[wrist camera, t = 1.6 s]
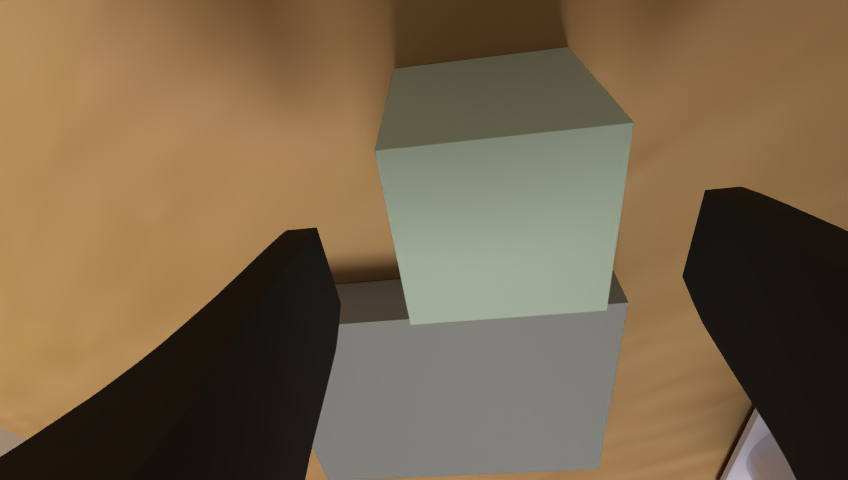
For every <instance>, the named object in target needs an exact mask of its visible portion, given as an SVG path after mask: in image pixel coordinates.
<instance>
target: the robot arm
mask: <svg viewBox="0 0 848 480" xmlns="http://www.w3.org/2000/svg"><path fill="white" fill-rule="evenodd" d="M683 279H684V281H685V284H686V286H687V289H688V291H689V293H690V296H691V298H692V301H693V303H694V305H695V307H696V309H697V312H698V314H699V316H700V318H701V320H702V323H703V324H704V326H705V328H706V329H707V331H708V333H709V334H710V336H711V338H712V339H713V341H714V342H715V344H716V346H717V347H718V349H719V351H720V352H721V354H722V355H723V357H724V359H725V360H726V362H727V364H728V365H729V367H730V368H731V370H732V371H733V373H734V375H735V376H736V378H737V379H738V381H739V383H740V384H741V386H742V387H743V389H744V391H745V392H746V394H747V395H748V397H749V398H750V400H751V402H752V403H753V405H754V406H755V409H754V411H753V413H752V415H751V417H750V419H749V421H748V423H747V425H746V428H745V430H744V432H743V434H742V436H741V438H740V440H739V442H738V444H737V446H736V448H735V450H734V452H733V454H732V456H731V458H730V460H729V462H728V464H727V466H726V468H725V470H724V472H723V474H722V477H721V479H720V480H848V231H846V230H844V229H842V228H839V227H837V226H835V225H833V224H830V223H828V222H826V221H824V220H821V219H819V218H817V217H814V216H812V215H810V214H808V213H805V212H803V211H801V210H799V209H796V208H794V207H792V206H789V205H787V204H785V203H782V202H780V201H778V200H775V199H773V198H770V197H768V196H765V195H763V194H760V193H758V192H755V191H752V190H749V189H746V188H743V187H733V188H723V189H713V190H705V193H704V197H703V201H702V204H701V208H700V212H699V216H698V219H697V223H696V227H695V231H694V235H693V238H692V242H691V246H690V250H689V253H688V257H687V261H686V265H685V269H684V272H683ZM340 310H341V302H340V299H339V296H338V293H337V290H336V286H335V283H334V280H333V277H332V274H331V271H330V268H329V265H328V262H327V258H326V255H325V252H324V249H323V246H322V243H321V240H320V237H319V234H318V230H317V228H308V229H297V230H287V231H285V232H284V233H283V234H282V235H280V236H279V237H278V238H277V239H276V240H275V241H274V242H273V243H271V244H270V245H269V246H268V247H267V248H266V249H265V250H264V251H263V252H262V253H261V254H260V255H259V256H258V257H257V258H256V259H255V260H254V261H253V262H252V263H250V264H249V265H248V266H247V267H246V268H245V269H244V270H243V271H242V272H241V273H240V274H239V275H238V276H237V277H236V278H235V279H234V280H233V281H232V282H230V283H229V284H228V285H227V286H226V287H225V288H224V289H223V290H222V291H221V292H220V293H219V294H218V295H217V296H216V297H215V298H213V299H212V300H211V301H210V302H209V303H208V304H207V305H206V306H204V307H203V308H202V309H201V310H200V311H199V312H198V313H196V314H195V315H194V316H193V317H192V318H191V319H190V320H188V321H187V322H186V323H185V324H184V325H183V326H181V327H180V328H179V329H178V330H177V331H176V332H175V333H173V334H172V335H171V336H170V337H169V338H168V339H167V340H165V341H164V342H163V343H162V344H161V345H159V346H158V347H157V348H156V349H154V350H153V351H152V352H151V353H149V354H148V355H147V356H146V357H144V358H143V359H142V360H140V361H139V362H138V363H137V364H135V365H134V366H133V367H131V368H130V369H129V370H127V371H126V372H125V373H123V374H122V375H121V376H119V377H118V378H117V379H115V380H114V381H113V382H111V383H110V384H109V385H107V386H106V387H105V388H103V389H102V390H100V391H99V392H98V393H96V394H95V395H93V396H92V397H91V398H89V399H88V400H86V401H85V402H83V403H82V404H80V405H79V406H77V407H76V408H74V409H73V410H71V411H70V412H68V413H67V414H65V415H64V416H62V417H61V418H59V419H58V420H56V421H55V422H53V423H52V424H50V425H49V426H47V427H46V428H44V429H43V430H41V431H40V432H38V433H37V434H35V435H34V436H32V437H31V438H29V439H28V440H26V441H25V442H23V443H22V444H20V445H19V446H17V447H16V448H14V449H12V450H11V451H9V452H8V453H6V454H4V455H3V456H1V457H0V480H305V477H306V472H307V467H308V463H309V458H310V453H311V449H312V445H313V441H314V437H315V433H316V429H317V425H318V421H319V417H320V413H321V409H322V405H323V401H324V397H325V393H326V390H327V386H328V381H329V377H330V373H331V369H332V365H333V361H334V356H335V352H336V347H337V338H338V330H339V321H340Z"/></svg>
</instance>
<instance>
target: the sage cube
mask: <svg viewBox="0 0 848 480" xmlns="http://www.w3.org/2000/svg"><path fill="white" fill-rule="evenodd" d="M633 126H634V122H633V121H632V120H631V119H630V117H629V116H628V115H627V114H626V113H625V112H624V111H623V109H622V108H621V107H620V106H619V105H618V104H617V103H616V101H615V100H614V99H613V98H612V97H611V96H610V95H609V93H608V92H607V91H606V90H605V89H604V88H603V86H602V85H601V84H600V83H599V82H598V81H597V80H596V78H595V77H594V76H593V75H592V74H591V73H590V72H589V70H588V69H587V68H586V67H585V66H584V65H583V64H582V62H581V61H580V60H579V59H578V58H577V57H576V56H575V54H574V53H573V52H572V51H571V50H570V49H569V47H564V48H556V49H548V50H540V51H532V52H524V53H516V54H508V55H500V56H492V57H484V58H476V59H468V60H460V61H452V62H444V63H436V64H428V65H420V66H412V67H404V68H396V69H394V73H393V77H392V81H391V85H390V89H389V93H388V98H387V102H386V106H385V110H384V114H383V118H382V122H381V127H380V131H379V135H378V139H377V143H376V147H375V155H376V160H377V165H378V169H379V174H380V179H381V184H382V189H383V194H384V199H385V203H386V208H387V213H388V218H389V223H390V228H391V232H392V237H393V242H394V247H395V252H396V257H397V262H398V266H399V271H400V276H401V281H402V286H403V291H404V295H405V300H406V305H407V310H408V315H409V320H410V324H411V325H416V324H429V323H443V322H457V321H470V320H484V319H498V318H511V317H525V316H539V315H552V314H566V313H579V312H593V311H607V305H608V298H609V291H610V285H611V278H612V271H613V264H614V257H615V250H616V243H617V236H618V229H619V222H620V216H621V209H622V202H623V195H624V188H625V181H626V174H627V167H628V160H629V154H630V147H631V140H632V133H633Z"/></svg>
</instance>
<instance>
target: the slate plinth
mask: <svg viewBox="0 0 848 480" xmlns="http://www.w3.org/2000/svg"><path fill="white" fill-rule="evenodd" d="M335 286H336V290H337V293H338V296H339V299H340V302H341V310H340V321H339V330H338V338H337V347H336V352H335V356H334V361H333V365H332V369H331V373H330V377H329V381H328V386H327V390H326V393H325V397H324V401H323V405H322V409H321V413H320V417H319V421H318V425H317V429H316V433H315V437H314V441H313V445H312V448H313V450H314V452H315V454H316V456H317V458H318V460H319V462H320V464H321V466H322V468H323V470H324V472H325V474H326V476H327V478H328V480H365V479H388V478H411V477H434V476H457V475H480V474H503V473H526V472H550V471H573V470H596V469H599V463H600V458H601V452H602V447H603V441H604V435H605V430H606V424H607V419H608V413H609V408H610V402H611V397H612V391H613V386H614V380H615V374H616V369H617V363H618V358H619V352H620V347H621V341H622V336H623V330H624V325H625V319H626V313H627V308H628V301H627V299H626V297H625V294H624V292H623V290H622V288H621V286H620V284H619V282H618V280H617V278H616V275H615V273H614V271H612V278H611V285H610V291H609V298H608V305H607V311H593V312H579V313H566V314H552V315H539V316H525V317H511V318H498V319H484V320H470V321H457V322H443V323H429V324H416V325H411V324H410V320H409V315H408V310H407V305H406V300H405V295H404V291H403V286H402V281H401V279H395V280H383V281H371V282H359V283H347V284H335Z"/></svg>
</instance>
